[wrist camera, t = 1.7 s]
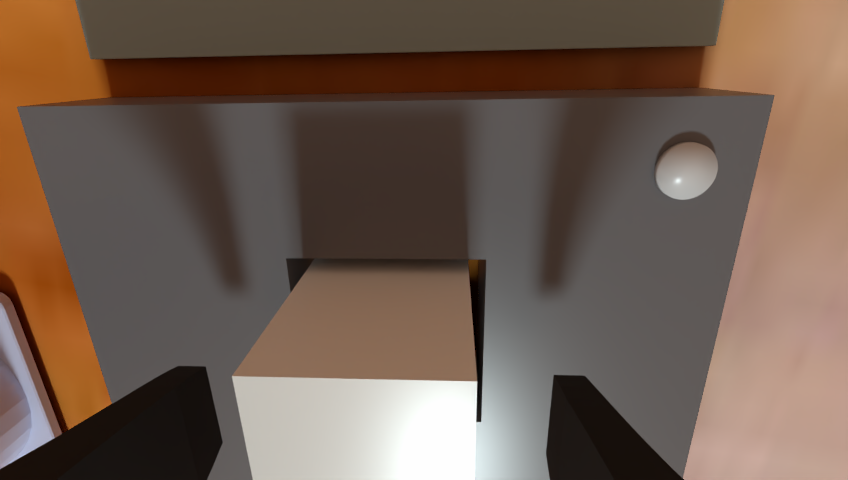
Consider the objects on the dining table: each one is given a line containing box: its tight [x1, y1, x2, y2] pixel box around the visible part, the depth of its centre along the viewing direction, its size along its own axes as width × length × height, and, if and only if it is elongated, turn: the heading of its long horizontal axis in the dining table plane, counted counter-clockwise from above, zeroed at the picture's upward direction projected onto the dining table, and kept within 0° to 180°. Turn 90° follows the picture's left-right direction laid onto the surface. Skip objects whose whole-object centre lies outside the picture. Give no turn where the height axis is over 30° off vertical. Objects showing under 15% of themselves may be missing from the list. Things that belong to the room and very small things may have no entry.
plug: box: [232, 259, 477, 480], centre depth 11 cm, size 4×4×7 cm
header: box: [17, 88, 774, 480], centre depth 13 cm, size 16×12×3 cm
